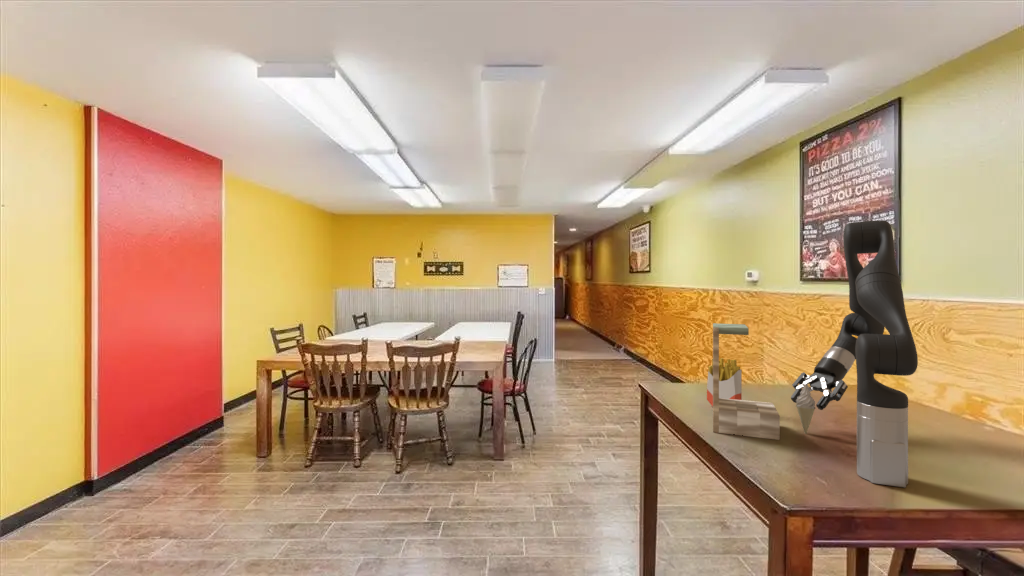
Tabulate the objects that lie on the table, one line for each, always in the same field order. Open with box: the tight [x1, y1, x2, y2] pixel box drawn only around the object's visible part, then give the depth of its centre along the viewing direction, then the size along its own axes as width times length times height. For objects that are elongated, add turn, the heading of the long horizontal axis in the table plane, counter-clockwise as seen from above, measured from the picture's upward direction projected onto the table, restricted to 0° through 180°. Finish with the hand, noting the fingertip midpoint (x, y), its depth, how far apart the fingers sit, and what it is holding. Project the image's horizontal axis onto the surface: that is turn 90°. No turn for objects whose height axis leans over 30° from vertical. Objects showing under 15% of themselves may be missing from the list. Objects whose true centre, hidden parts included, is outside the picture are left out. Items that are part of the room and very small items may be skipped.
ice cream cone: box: [795, 384, 816, 434], centre depth 138 cm, size 5×5×15 cm
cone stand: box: [712, 323, 781, 441], centre depth 143 cm, size 16×18×32 cm
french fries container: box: [706, 357, 743, 407], centre depth 166 cm, size 5×11×18 cm, turn 34°
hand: (805, 404), depth 138 cm, fingers open, 8 cm apart
